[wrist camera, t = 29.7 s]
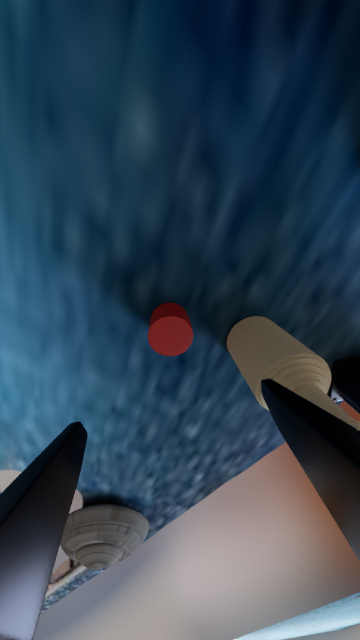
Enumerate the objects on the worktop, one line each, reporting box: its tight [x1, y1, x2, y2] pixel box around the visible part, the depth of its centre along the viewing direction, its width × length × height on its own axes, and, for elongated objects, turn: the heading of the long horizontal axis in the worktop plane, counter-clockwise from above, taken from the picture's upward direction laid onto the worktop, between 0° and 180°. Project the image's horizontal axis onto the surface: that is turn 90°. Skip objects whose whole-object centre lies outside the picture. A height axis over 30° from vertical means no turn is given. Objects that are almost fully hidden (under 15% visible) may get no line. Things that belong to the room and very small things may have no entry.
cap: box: [148, 303, 193, 356], centre depth 17 cm, size 4×4×4 cm
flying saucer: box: [60, 504, 149, 569], centre depth 30 cm, size 15×15×6 cm
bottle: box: [227, 316, 360, 430], centre depth 15 cm, size 6×6×11 cm
